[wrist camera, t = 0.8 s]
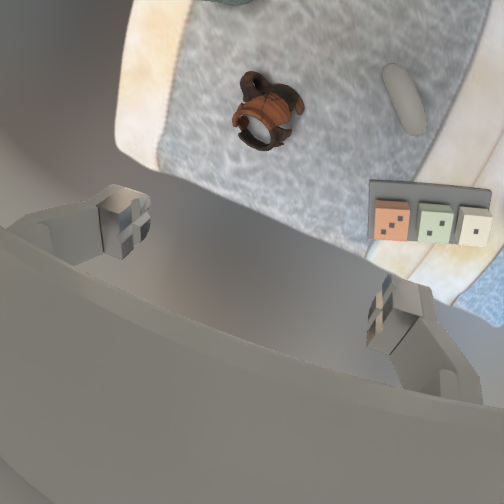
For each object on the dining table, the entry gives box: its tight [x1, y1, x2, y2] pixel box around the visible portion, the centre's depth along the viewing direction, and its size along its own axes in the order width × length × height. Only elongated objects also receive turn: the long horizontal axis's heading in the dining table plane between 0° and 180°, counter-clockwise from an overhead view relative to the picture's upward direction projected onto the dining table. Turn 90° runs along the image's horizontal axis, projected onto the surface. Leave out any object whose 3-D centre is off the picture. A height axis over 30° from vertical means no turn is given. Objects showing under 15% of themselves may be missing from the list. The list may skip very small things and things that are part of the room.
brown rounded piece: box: [232, 71, 304, 151], centre depth 42 cm, size 12×10×8 cm
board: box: [368, 180, 492, 244], centre depth 44 cm, size 21×10×2 cm, turn 98°
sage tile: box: [416, 203, 454, 244], centre depth 42 cm, size 5×5×3 cm
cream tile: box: [455, 206, 493, 247], centre depth 40 cm, size 5×5×3 cm
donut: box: [382, 63, 427, 136], centre depth 33 cm, size 10×3×10 cm, turn 29°
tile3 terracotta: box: [374, 200, 410, 241], centre depth 44 cm, size 5×5×3 cm
